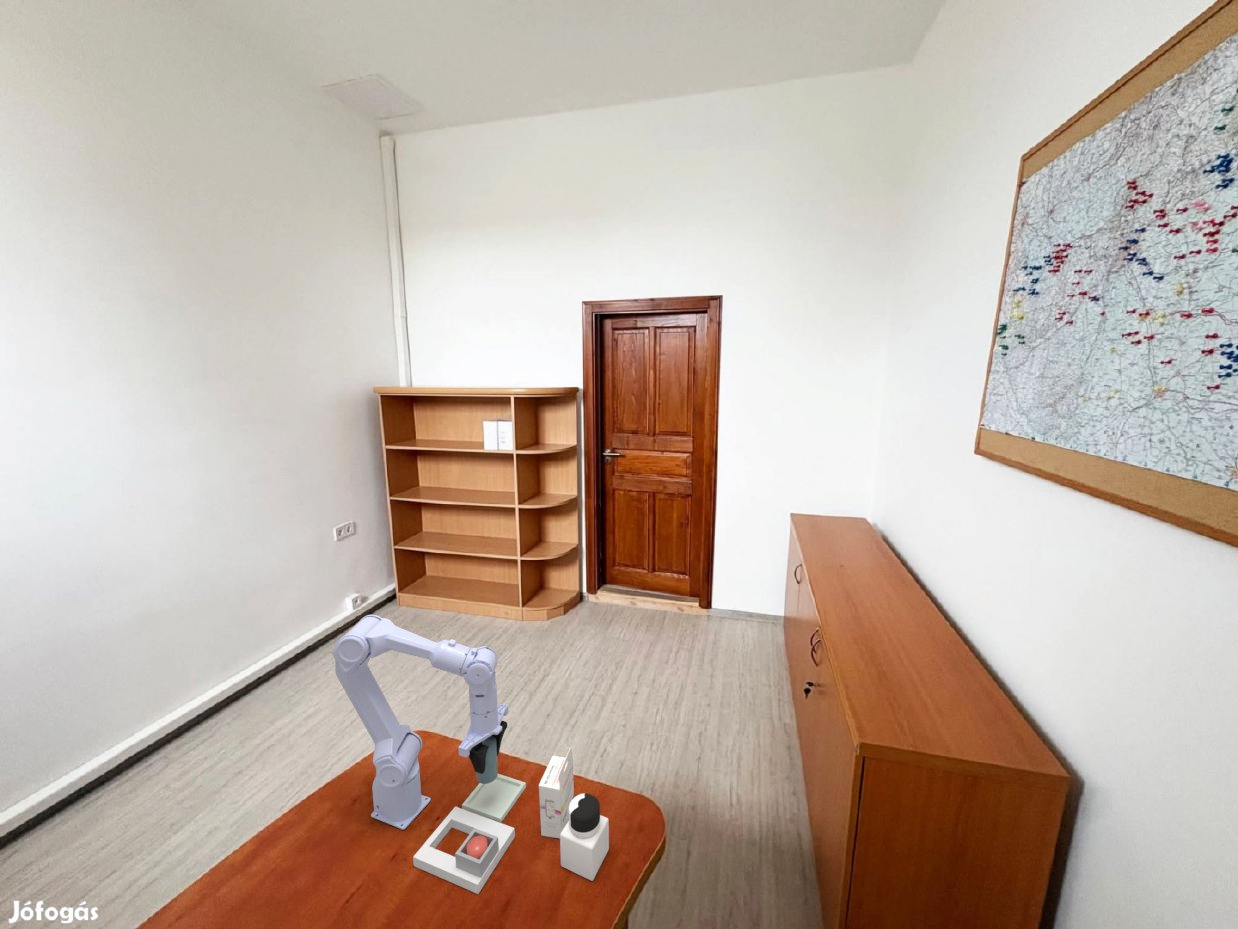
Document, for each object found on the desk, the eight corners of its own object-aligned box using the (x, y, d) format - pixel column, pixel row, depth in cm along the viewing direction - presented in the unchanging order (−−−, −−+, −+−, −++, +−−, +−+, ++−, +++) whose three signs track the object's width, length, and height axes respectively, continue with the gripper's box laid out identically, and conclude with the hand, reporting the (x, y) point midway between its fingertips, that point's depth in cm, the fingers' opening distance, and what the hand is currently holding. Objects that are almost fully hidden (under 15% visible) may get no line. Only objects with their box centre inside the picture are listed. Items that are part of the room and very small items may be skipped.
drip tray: (462, 809, 102) (462, 804, 102) (489, 775, 111) (489, 771, 111) (500, 823, 99) (500, 818, 98) (525, 787, 108) (525, 782, 108)
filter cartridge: (472, 780, 101) (470, 747, 100) (485, 765, 105) (483, 733, 104) (489, 786, 99) (488, 752, 98) (501, 771, 103) (500, 738, 102)
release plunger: (463, 863, 88) (462, 850, 87) (475, 845, 91) (475, 833, 91) (479, 870, 86) (479, 857, 86) (492, 852, 90) (491, 839, 90)
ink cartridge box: (553, 801, 104) (551, 742, 102) (574, 805, 103) (573, 745, 101) (539, 836, 96) (537, 772, 94) (562, 840, 95) (560, 776, 93)
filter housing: (413, 866, 90) (412, 843, 89) (455, 814, 101) (454, 794, 100) (478, 894, 84) (476, 870, 84) (514, 836, 96) (513, 815, 95)
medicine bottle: (609, 849, 93) (609, 795, 91) (592, 882, 86) (591, 825, 85) (578, 835, 96) (577, 783, 94) (560, 866, 89) (558, 811, 88)
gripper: (477, 733, 92) (480, 794, 93) (518, 690, 105) (520, 745, 107) (448, 724, 94) (452, 784, 96) (492, 684, 108) (495, 737, 109)
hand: (486, 763), depth 102 cm, fingers closed on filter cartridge, 4 cm apart
